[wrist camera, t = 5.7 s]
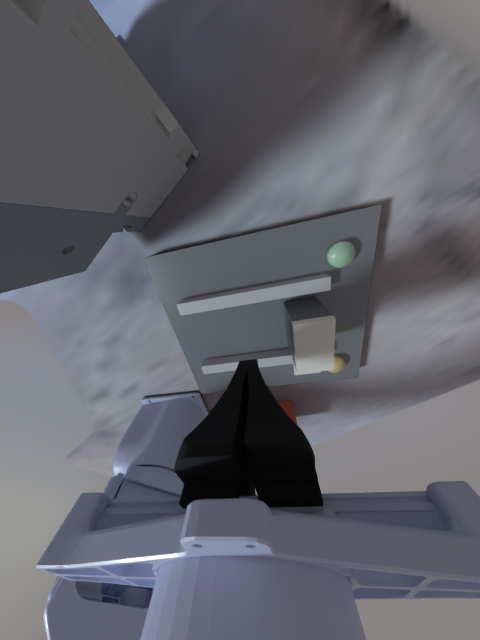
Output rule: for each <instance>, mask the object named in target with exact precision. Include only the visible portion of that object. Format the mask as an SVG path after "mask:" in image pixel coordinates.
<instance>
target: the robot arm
mask: <svg viewBox="0 0 480 640" xmlns="http://www.w3.org/2000/svg"><path fill="white" fill-rule="evenodd" d="M141 403H142V407H141V408H140V410H139V412H138V413H137V415H136V417H135V418H134V420H133V422H132V423H131V425H130V427H129V428H128V430H127V432H126V433H125V435H124V437H123V438H122V440H121V442H120V444H119V445H118V448H117V450H116V453H115V457H114V461H113V472H114V475H115V476H114V477H112V478H111V479H110V480H109V482H108V484H107V486H106V487H105V489H104V491H103V492H102V493H82V494H81V495H80V497H79V498H78V500H77V502H76V503H75V505H74V506H73V508H72V510H71V511H70V513H69V514H68V516H67V517H66V519H65V521H64V522H63V524H62V526H61V527H60V529H59V530H58V532H57V533H56V535H55V536H54V538H53V540H52V541H51V543H50V544H49V546H48V548H47V549H46V551H45V552H44V554H43V555H42V557H41V559H40V560H39V562H38V563H37V565H36V568H37V569H40V570H43V571H45V572H48V573H51V574H54V575H57V578H56V580H55V582H54V584H53V586H52V588H51V590H50V592H49V594H48V603H47V605H46V607H45V609H44V624H45V629H46V635H47V640H366V638H365V634H364V630H363V627H362V623H361V620H360V617H359V613H358V610H357V606H356V602H355V599H420V598H469V599H472V598H473V599H480V497H479V496H478V494H477V493H476V492H475V491H474V490H473V489H472V488H471V486H470V485H469V484H468V483H467V482H464V481H449V482H434V483H431V484H429V485H428V486H427V489H426V491H414V492H413V491H411V492H376V493H375V492H372V493H335V494H334V493H333V494H321V491H320V487H319V484H318V478H317V473H316V470H315V456H314V453H313V450H312V448H311V446H310V444H309V442H308V440H307V438H306V436H305V435H304V433H303V431H302V430H301V429H300V428H299V426H298V425H297V424H296V423H295V422H294V421H293V420H292V419H291V418H290V417H289V416H288V415H287V413H286V412H285V411H284V410H283V408H282V407H281V406H280V405H279V403H278V402H277V401H276V399H275V398H274V396H273V395H272V393H271V392H270V390H269V388H268V387H267V385H266V383H265V381H264V379H263V377H262V375H261V372H260V370H259V366H258V361H257V359H251V360H243V361H240V362H239V363H238V366H237V368H236V371H235V373H234V375H233V377H232V379H231V381H230V383H229V385H228V387H227V388H226V390H225V392H224V393H223V395H222V397H221V398H220V399H219V401H218V402H217V404H216V405H215V406H214V408H213V409H212V410H211V411H210V413H208V411H207V409H206V406H205V404H204V402H203V399H202V397H201V395H200V393H198V392H194V393H185V394H175V395H166V396H157V397H147V398H142V399H141ZM255 489H256V491H257V494H258V495H256V494H255Z"/></svg>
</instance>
